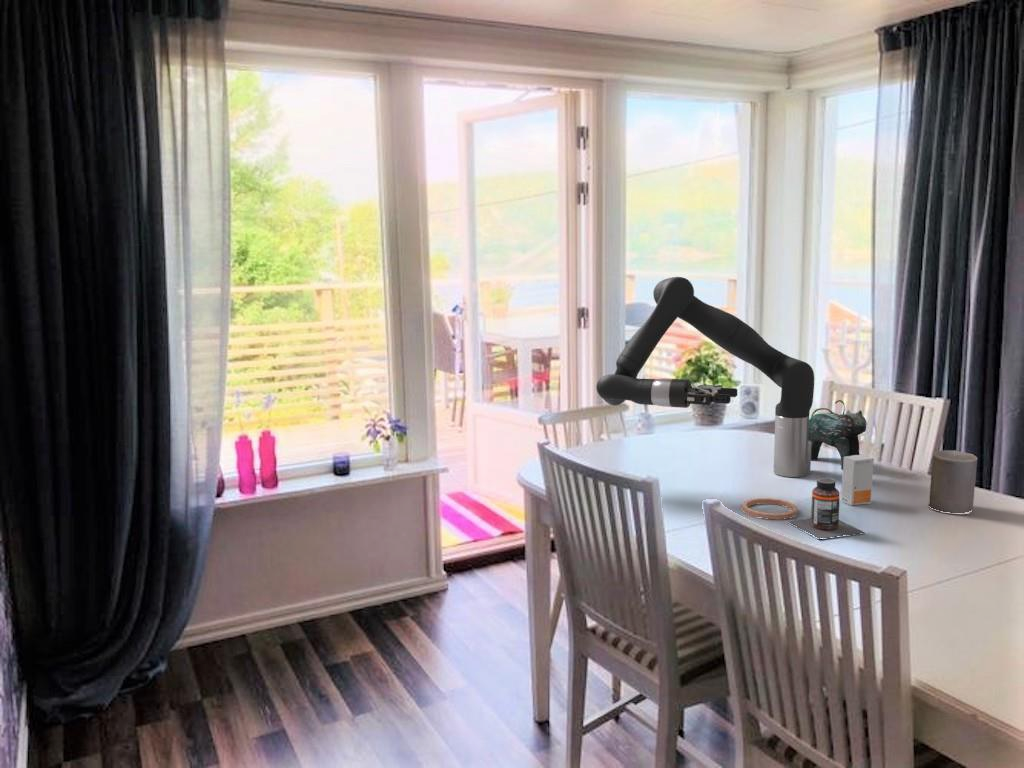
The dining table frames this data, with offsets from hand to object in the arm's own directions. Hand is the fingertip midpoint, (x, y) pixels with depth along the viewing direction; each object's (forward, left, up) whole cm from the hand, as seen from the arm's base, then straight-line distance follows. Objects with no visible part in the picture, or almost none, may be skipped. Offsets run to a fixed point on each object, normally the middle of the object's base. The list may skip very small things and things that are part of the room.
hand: (733, 395), depth 203 cm
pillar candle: (-46, +25, -28) cm, 59 cm away
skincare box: (-28, +13, -28) cm, 42 cm away
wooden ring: (-4, +11, -28) cm, 30 cm away
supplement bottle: (-9, +26, -28) cm, 39 cm away
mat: (-9, +26, -28) cm, 39 cm away
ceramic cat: (-44, -18, -28) cm, 56 cm away
